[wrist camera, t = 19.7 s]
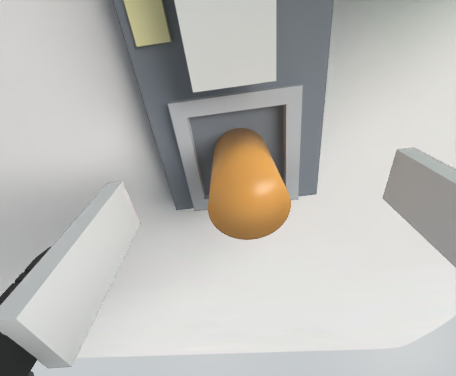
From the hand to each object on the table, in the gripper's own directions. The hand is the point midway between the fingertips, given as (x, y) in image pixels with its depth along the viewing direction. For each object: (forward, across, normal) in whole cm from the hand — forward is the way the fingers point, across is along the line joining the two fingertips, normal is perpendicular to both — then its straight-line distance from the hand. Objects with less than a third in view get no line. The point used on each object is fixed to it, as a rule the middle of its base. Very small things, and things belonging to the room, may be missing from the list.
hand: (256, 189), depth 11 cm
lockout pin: (+6, 0, -1) cm, 6 cm away
